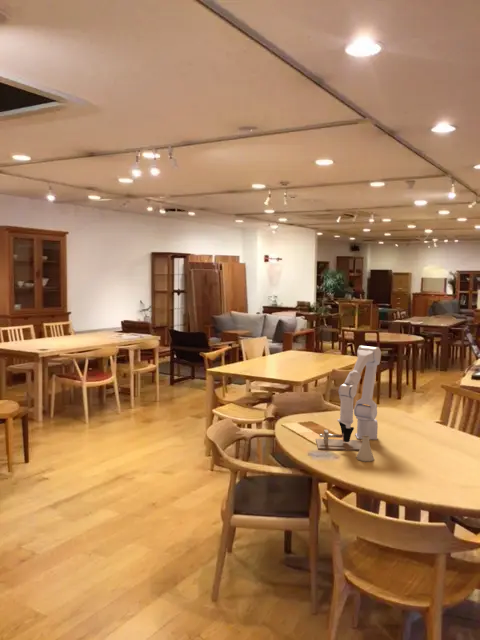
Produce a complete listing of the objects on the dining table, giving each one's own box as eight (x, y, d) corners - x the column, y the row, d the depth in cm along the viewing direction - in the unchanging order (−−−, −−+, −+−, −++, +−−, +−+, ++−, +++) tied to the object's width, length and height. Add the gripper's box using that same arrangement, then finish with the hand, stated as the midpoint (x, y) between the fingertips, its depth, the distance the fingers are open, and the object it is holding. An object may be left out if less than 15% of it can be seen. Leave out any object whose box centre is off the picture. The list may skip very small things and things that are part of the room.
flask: (363, 463, 242) (364, 439, 241) (353, 457, 249) (353, 435, 248) (377, 460, 246) (378, 437, 245) (366, 455, 252) (367, 433, 251)
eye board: (362, 441, 272) (363, 427, 271) (367, 451, 258) (368, 436, 257) (315, 440, 273) (316, 426, 272) (318, 449, 259) (318, 435, 258)
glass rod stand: (347, 440, 268) (347, 429, 267) (349, 443, 263) (349, 432, 262) (318, 439, 268) (319, 428, 268) (319, 442, 263) (320, 431, 263)
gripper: (336, 406, 271) (335, 434, 272) (339, 414, 257) (338, 444, 258) (351, 406, 271) (350, 435, 272) (355, 414, 256) (354, 444, 258)
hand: (345, 439), depth 265 cm, fingers open, 6 cm apart
